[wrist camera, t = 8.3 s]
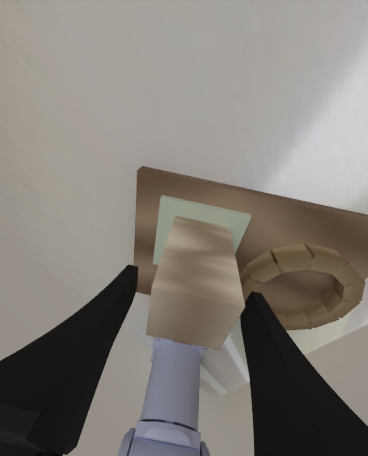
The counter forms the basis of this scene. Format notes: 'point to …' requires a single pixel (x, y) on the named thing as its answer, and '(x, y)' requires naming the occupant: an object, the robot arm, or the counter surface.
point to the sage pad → (197, 212)
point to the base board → (270, 247)
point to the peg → (196, 286)
